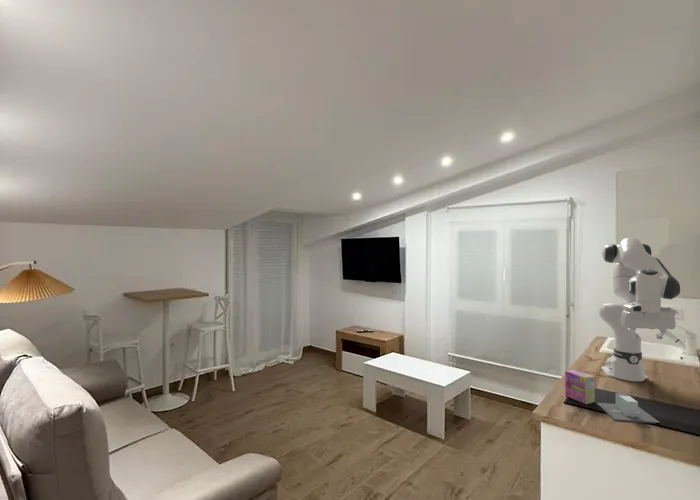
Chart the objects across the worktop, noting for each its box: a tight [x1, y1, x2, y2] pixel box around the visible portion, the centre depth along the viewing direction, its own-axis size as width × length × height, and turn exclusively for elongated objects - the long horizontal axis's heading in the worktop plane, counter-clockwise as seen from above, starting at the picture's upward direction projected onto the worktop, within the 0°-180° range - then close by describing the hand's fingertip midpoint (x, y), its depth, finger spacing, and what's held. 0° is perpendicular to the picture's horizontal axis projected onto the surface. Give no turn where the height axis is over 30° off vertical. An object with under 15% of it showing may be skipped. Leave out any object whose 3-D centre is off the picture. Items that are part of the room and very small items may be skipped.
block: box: [614, 392, 639, 417], centre depth 160 cm, size 4×9×6 cm, turn 170°
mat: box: [595, 402, 661, 424], centre depth 160 cm, size 16×16×1 cm
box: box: [564, 369, 596, 405], centre depth 174 cm, size 10×6×12 cm, turn 21°
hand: (647, 338), depth 168 cm, fingers open, 8 cm apart
